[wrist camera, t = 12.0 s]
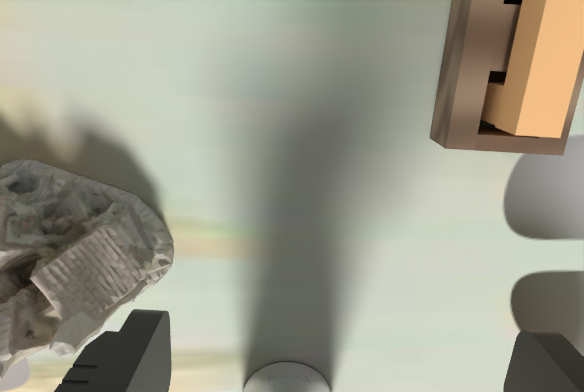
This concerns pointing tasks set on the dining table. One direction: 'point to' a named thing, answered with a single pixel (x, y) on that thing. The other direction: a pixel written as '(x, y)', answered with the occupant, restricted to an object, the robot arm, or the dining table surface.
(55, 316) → the ceramic cottage
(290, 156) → the dining table surface
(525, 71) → the tan u-shaped block
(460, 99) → the brown slotted wooden block
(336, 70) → the dining table surface
